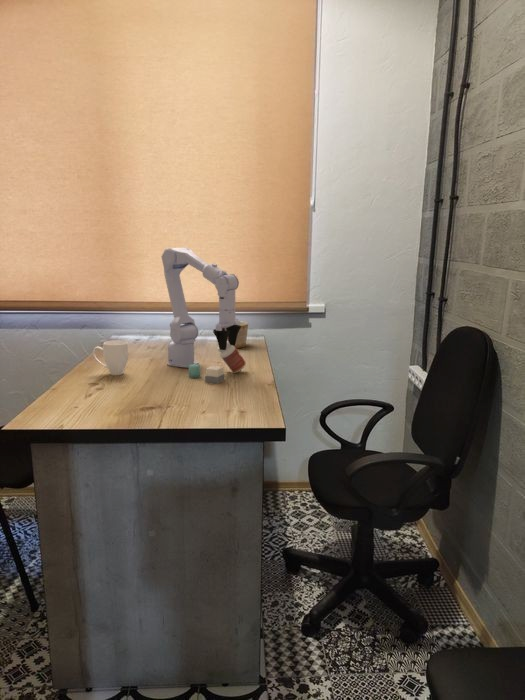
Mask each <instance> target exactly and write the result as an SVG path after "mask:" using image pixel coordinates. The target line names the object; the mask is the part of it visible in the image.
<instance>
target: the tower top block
mask: <svg viewBox="0 0 525 700" xmlns="http://www.w3.org/2000/svg"><path fill="white" fill-rule="evenodd" d="M205 370H206V371H205V376H212V377H219V376H221V375H223V374H225V373H224V367H223V366H219V365H218V366H217V365H210V366H209V367H207V368H206V369H205Z"/></svg>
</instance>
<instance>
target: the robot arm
mask: <svg viewBox="0 0 525 700" xmlns="http://www.w3.org/2000/svg"><path fill="white" fill-rule="evenodd" d="M161 260H162V266H163V274H164V279H165V283H166V288H167V293H168V296H169V301H170V306H171V309H172V311H171V312H172V315H173V320H172V321H171V322H170V324H169V328H170V330H169V331H170V332H169V337H170V339H171V341H170V342H169V344H168V347H167V348H168V349H167V352H168V353H167V355H168V357H167V358H168V359H167V360H168V362H167V366H169V367H170V366H171V367H178V368H187V369H189V365H191V364H199V363H200V362H199V361H195V342H196V339H197V337H198V336H199V329H198V326H197V324H196V323H195V319H193V317H191V316H190V315H189V313H188V307H187V303H186V298H185V293H184V290H183V289H184V288H183V285H182V280H181V272H183V271H184V270H185V269H186V268H187V267H188V266H191V267H193V268H194V269H196V270H198V271H199V272H201V273H202V277H203V278H204V279H206V280H207V281H208V282H210V283H211V284H213V285H214V286H215V288H216V291H217V295H218V296H217V297H218V322H217V324H215V329H212V332H213V334H214V335H215V338H216V341H217V345H218V346H219V348H220V350H226V347H227V338H228V342H229V343H230V345H233V346H235V344H236V339H237V335H238V332H239V330H240V328H241V325H238V324H239V322H238V321H239V318H236V290H237V289H238V288H239V284H240V282H239V279H238V276H237V275H235V273H227V271H226V270H222V269H221V268H220V267H218V264H216V263H207V262H206V261H204V260H203V259H201V258H200V257H199V256H198V255H196V254H195V253H194V251H193V250H191V249H190V248H189V247H167V248H165V249H164V250H163V252H162V255H161ZM225 328H226V330H227V331H226V330H225Z"/></svg>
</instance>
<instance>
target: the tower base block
mask: <svg viewBox="0 0 525 700" xmlns="http://www.w3.org/2000/svg"><path fill="white" fill-rule="evenodd" d="M225 375H226V374H225V373H224V374H223V375H221V376H219V377H212V376H206V375H204V382H205V383H209V384H217V385H219V384H220V383H222V382H223V381H225V380H226V379H225V378H226V376H225Z"/></svg>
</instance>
